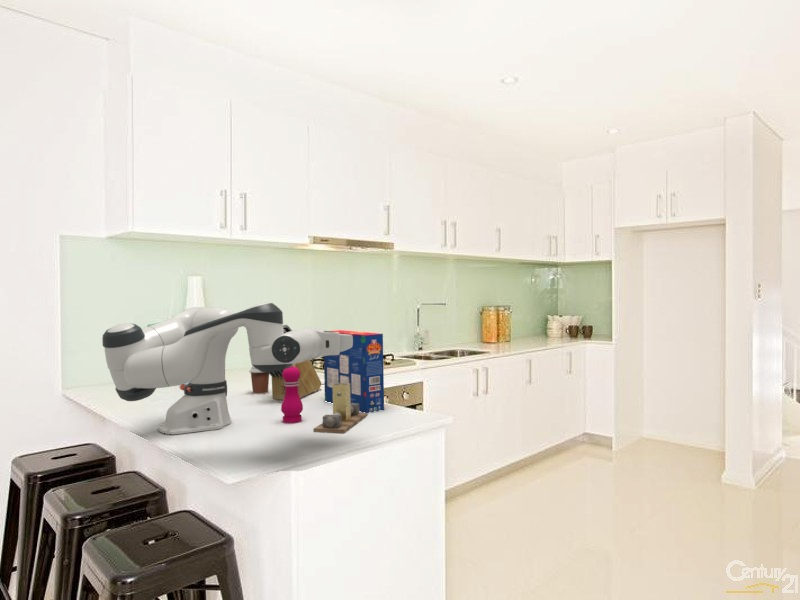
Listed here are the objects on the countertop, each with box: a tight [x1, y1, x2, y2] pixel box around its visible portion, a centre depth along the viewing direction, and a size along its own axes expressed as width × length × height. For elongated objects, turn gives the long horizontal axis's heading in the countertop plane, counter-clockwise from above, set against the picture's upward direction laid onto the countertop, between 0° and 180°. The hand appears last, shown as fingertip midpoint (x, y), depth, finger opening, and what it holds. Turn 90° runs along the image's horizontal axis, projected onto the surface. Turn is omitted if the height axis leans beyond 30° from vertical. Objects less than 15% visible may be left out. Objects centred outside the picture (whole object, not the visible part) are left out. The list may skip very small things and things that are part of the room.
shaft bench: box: [313, 403, 369, 434], centre depth 178 cm, size 24×10×4 cm, turn 166°
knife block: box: [268, 324, 322, 401], centre depth 226 cm, size 11×35×31 cm, turn 165°
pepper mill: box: [280, 364, 304, 424], centre depth 183 cm, size 7×7×20 cm
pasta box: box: [323, 329, 385, 414], centre depth 206 cm, size 28×8×28 cm, turn 39°
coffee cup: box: [248, 365, 270, 395], centre depth 235 cm, size 9×9×12 cm
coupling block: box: [332, 383, 351, 422], centre depth 178 cm, size 5×4×12 cm
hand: (327, 339), depth 166 cm, fingers open, 8 cm apart
